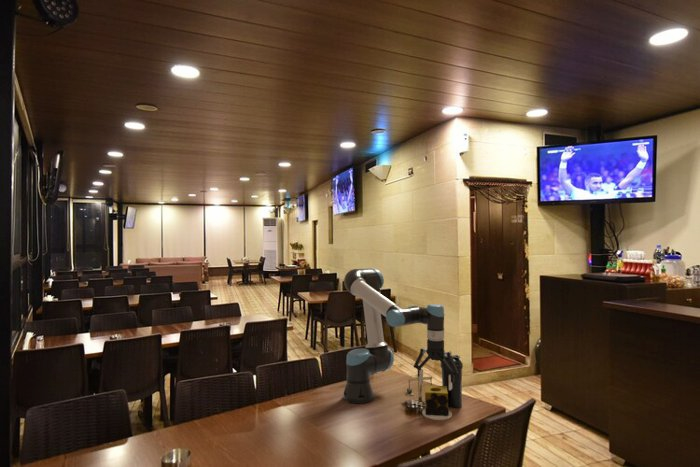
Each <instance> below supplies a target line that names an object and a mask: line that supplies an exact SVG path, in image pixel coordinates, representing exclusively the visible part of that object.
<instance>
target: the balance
mask: <svg viewBox="0 0 700 467" xmlns="http://www.w3.org/2000/svg"><path fill="white" fill-rule="evenodd" d="M432 379H433V376H423V381H428V380H429V383H430V384H429V386H433V385H432ZM407 381H408V388H406V391H405V392H404V393H403V394H404V396H405V397H414V396H416V394H415V392H413V389H412V388H411V382H415V381H417V397H418V399H415V400H414V401H419V402H422V401H423V402H424V403H425V402H426V400H425V401H424V400H423V384H422V385H419V377H418V376H417V377H409V378H407Z"/></svg>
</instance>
